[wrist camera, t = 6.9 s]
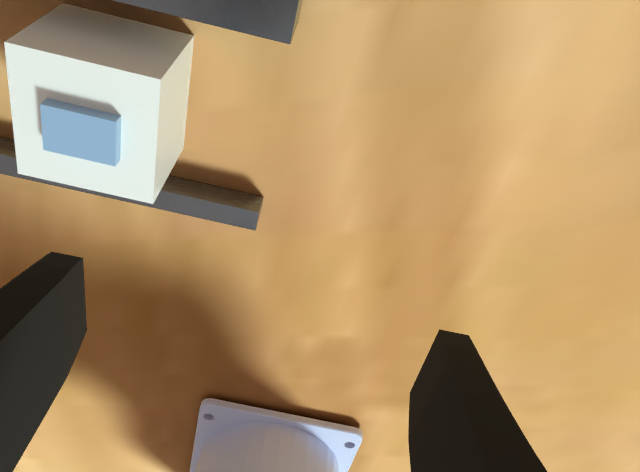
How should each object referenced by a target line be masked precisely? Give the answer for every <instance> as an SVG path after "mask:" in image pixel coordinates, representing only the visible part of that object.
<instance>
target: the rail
mask: <svg viewBox="0 0 640 472" xmlns="http://www.w3.org/2000/svg"><path fill="white" fill-rule="evenodd" d="M113 1H117V2H121V3H125V4H129V5H133V6H137V7H141V8H145V9H149V10H153V11H157V12H161V13H165V14H169V15H173V16H178V17H182V18H186V19H190V20H194V21H198V22H202V23H206V24H210V25H214V26H218V27H222V28H226V29H230V30H234V31H238V32H242V33H246V34H250V35H254V36H258V37H262V38H266V39H270V40H274V41H278V42H283V43H287V44H291V41H292V38H293V35H294V32H295V29H296V26H297V23H298V19H299V14H300V9H301V4H302V0H113ZM0 174H5V175H9V176H14V177H18V178H23V179H27V180H32V181H36V182H41V183H45V184H50V185H54V186H59V187H63V188H68V189H72V190H77V191H81V192H86V193H90V194H94V195H99V196H103V197H108V198H112V199H117V200H121V201H126V202H130V203H135V204H139V205H144V206H148V207H153V208H157V209H162V210H166V211H171V212H175V213H180V214H184V215H188V216H193V217H197V218H202V219H206V220H211V221H215V222H220V223H224V224H229V225H233V226H238V227H242V228H247V229H251V230H256V227H257V223H258V220H259V216H260V211H261V206H262V201H263V197H261V196H257V195H253V194H248V193H244V192H239V191H235V190H231V189H226V188H222V187H217V186H213V185H209V184H204V183H200V182H196V181H191V180H187V179H182V178H178V177H174V176H168V178H167V179H166V181H165V183H164V185H163V187H162V189H161V190H160V192H159V194H158V196H157V198H156V200H155V201H154V203H153V204H150V203H146V202H141V201H137V200H133V199H128V198H124V197H119V196H115V195H110V194H106V193H102V192H97V191H93V190H88V189H84V188H79V187H75V186H71V185H66V184H62V183H57V182H53V181H48V180H44V179H40V178H35V177H31V176H26V175H22V174H18V170H17V161H16V151H15V142H14V140H11V139H7V138H2V137H0Z"/></svg>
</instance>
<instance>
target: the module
mask: <svg viewBox="0 0 640 472" xmlns="http://www.w3.org/2000/svg"><path fill="white" fill-rule="evenodd" d="M193 43H194V35H190V34H186V33H182V32H178V31H174V30H170V29H166V28H162V27H158V26H154V25H150V24H146V23H142V22H138V21H134V20H130V19H126V18H122V17H118V16H114V15H110V14H106V13H101V12H97V11H93V10H89V9H85V8H81V7H77V6H73V5H69V4H65V3H62V4H60V5H59V6H57V7H56V8H54V9H53V10H51V11H50V12H48V13H47V14H45V15H44V16H42V17H41V18H39V19H38V20H36V21H35V22H33V23H32V24H30V25H29V26H27V27H26V28H24V29H23V30H21V31H20V32H18V33H17V34H15V35H14V36H12V37H11V38H9V39H8V40H6V41H5V42H4V46H5V55H6V65H7V74H8V84H9V94H10V103H11V113H12V122H13V132H14V142H15V151H16V161H17V170H18V174H22V175H26V176H31V177H35V178H40V179H44V180H48V181H53V182H57V183H62V184H66V185H71V186H75V187H79V188H84V189H88V190H93V191H97V192H102V193H106V194H110V195H115V196H119V197H124V198H128V199H133V200H137V201H141V202H146V203H150V204H153V203H154V201H155V200H156V198H157V196H158V194H159V192H160V190H161V189H162V187H163V185H164V183H165V181H166V179H167V178H168V176H169V174H170V172H171V170H172V168H173V167H174V165H175V163H176V161H177V159H178V157H179V156H180V154H181V152H182V150H183V148H184V138H185V128H186V117H187V106H188V96H189V85H190V75H191V64H192V53H193Z"/></svg>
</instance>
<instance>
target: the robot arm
mask: <svg viewBox="0 0 640 472" xmlns="http://www.w3.org/2000/svg"><path fill="white" fill-rule="evenodd" d="M86 331H87V325H86V306H85V288H84V270H83V258H80V257H75V256H70V255H65V254H60V253H55V252H51V253H49V254H47V255H46V256H44V257H43V258H42V259H40V260H39V261H37V262H36V263H35V264H33V265H32V266H30V267H29V268H28V269H26V270H25V271H24V272H22V273H21V274H20V275H18V276H17V277H15V278H14V279H13V280H11V281H10V282H9V283H7V284H6V285H4V286H3V287H2V288H0V472H13V470H14V468H15V467H16V465H17V463H18V461H19V460H20V458H21V456H22V455H23V453H24V451H25V449H26V448H27V446H28V444H29V442H30V441H31V439H32V437H33V436H34V434H35V432H36V430H37V429H38V427H39V425H40V424H41V422H42V420H43V418H44V417H45V415H46V413H47V411H48V410H49V408H50V406H51V404H52V403H53V401H54V399H55V397H56V396H57V394H58V392H59V390H60V389H61V387H62V385H63V383H64V382H65V380H66V378H67V376H68V374H69V372H70V369H71V367H72V365H73V362H74V360H75V358H76V355H77V353H78V351H79V348H80V346H81V343H82V341H83V338H84V336H85V333H86ZM361 442H362V431H361V430H360V429H359V428H356V427H352V426H347V425H342V424H337V423H332V422H327V421H322V420H317V419H312V418H308V417H303V416H298V415H293V414H288V413H283V412H278V411H273V410H268V409H263V408H258V407H253V406H248V405H243V404H238V403H233V402H228V401H223V400H218V399H213V398H207V399H204V400H203V401H202V402H201V405H200V409H199V416H198V422H197V428H196V434H195V440H194V447H193V453H192V459H191V465H190V472H348V470H349V468H350V466H351V464H352V461H353V459H354V457H355V455H356V453H357V451H358V448H359V446H360V444H361ZM409 453H410V464H411V472H547V470H546V469H545V467H544V466H543V464H542V463H541V461H540V460H539V458H538V457H537V455H536V454H535V452H534V450H533V449H532V447H531V446H530V444H529V442H528V441H527V439H526V437H525V436H524V434H523V432H522V431H521V429H520V427H519V426H518V424H517V422H516V421H515V419H514V417H513V415H512V414H511V412H510V410H509V409H508V407H507V405H506V403H505V402H504V400H503V398H502V396H501V394H500V393H499V391H498V389H497V387H496V385H495V383H494V382H493V380H492V378H491V376H490V374H489V372H488V370H487V369H486V367H485V365H484V363H483V361H482V359H481V357H480V355H479V353H478V352H477V350H476V348H475V346H474V344H473V342H472V340H471V339H470V337H469V335H464V334H459V333H454V332H449V331H444V330H439V332H438V334H437V336H436V338H435V340H434V342H433V344H432V347H431V349H430V351H429V353H428V355H427V357H426V359H425V362H424V364H423V366H422V368H421V370H420V372H419V374H418V377H417V379H416V381H415V383H414V385H413V387H412V389H411V392H410V405H409Z"/></svg>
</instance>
